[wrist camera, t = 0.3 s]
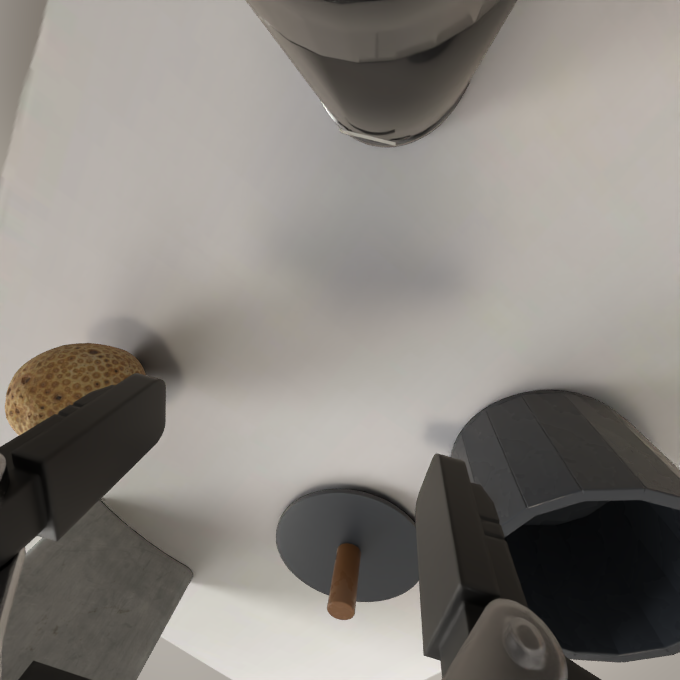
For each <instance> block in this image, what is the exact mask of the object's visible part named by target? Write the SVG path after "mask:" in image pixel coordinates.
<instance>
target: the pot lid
mask: <svg viewBox="0 0 680 680" xmlns="http://www.w3.org/2000/svg"><path fill="white" fill-rule="evenodd" d="M276 543H277V547H278V551H279V553H280V556H281V558H282V560H283V561H284V563H285V564H286V566H287V567H288V568H289V569H290V571H291V572H292V573H293V574H294V575H295V576H296V577H298V578H299V579H300V580H301V581H302V582H304V583H305V584H307V585H308V586H310V587H312V588H314V589H315V590H317V591H319V592H322V593H324V594H326V595H329V599H328V605H327V610H328V612H329V614H330V615H331V616H333V617H334V618H337V619H340V620H348V619H351V618H352V617H353V616H354V614H355V606H356V601H357V602H374V601H382V600H387V599H390V598H394V597H396V596H399V595H401V594H403V593H405V592H406V591H408V590H410V589H411V588H412V587H413V586H414V585H415V584H416V583H417V582H418V581H419V570H418V554H417V537H416V524H415V523H414V522H413V520H412V519H411V518H410V517H409V516H408V515H407V514H406V513H405V512H403V511H402V510H401V509H399V508H398V507H397V506H395V505H393V504H392V503H390V502H388V501H386V500H384V499H382V498H380V497H377V496H375V495H372V494H369V493H365V492H361V491H356V490H348V489H329V490H322V491H317V492H314V493H311V494H308V495H305V496H303V497H301V498H299V499H298V500H296V501H295V502H293V503H292V504H291V505H290V506H289V507H288V508H287V509H286V510H285V512H284V513H283V514H282V516H281V519H280V521H279V523H278V527H277V531H276Z"/></svg>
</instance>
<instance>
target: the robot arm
mask: <svg viewBox="0 0 680 680" xmlns="http://www.w3.org/2000/svg"><path fill="white" fill-rule="evenodd" d="M246 2H247V3H248V4H249V6H250V7H251V8H252V10H253V11H254V12H255V14H256V15H257V16H258V18H259V19H260V20H261V22H262V23H263V24H264V26H265V27H266V28H267V30H268V31H269V32H270V34H271V35H272V36H273V38H274V39H275V40H276V42H277V43H278V44H279V46H280V47H281V48H282V50H283V51H284V52H285V54H286V55H287V56H288V58H289V59H290V60H291V62H292V63H293V64H294V66H295V67H296V68H297V70H298V71H299V72H300V74H301V75H302V76H303V78H304V79H305V80H306V82H307V83H308V84H309V86H310V87H311V88H312V90H313V91H314V92H315V93H316V95H317V96H318V97H319V99H320V100H321V102H322V104H323V106H324V108H325V109H326V111H327V112H328V114H329V115H330V116H331V118H332V119H333V120H334V121H335V123H336V124H337V125H338V126H339V127H340V128H341V129H342V130H341V129H339V130H340V131H341V133H344V134H348V135H350V136H351V137H353V138H354V139H356V140H358V141H360V142H363V143H365V144H368V145H372V146H378V147H396V146H402V145H405V144H409V143H412V142H414V141H417V140H419V139H421V138H422V137H424V136H426V135H427V134H429V133H430V132H432V131H433V130H434V129H436V128H437V127H438V126H439V125H440V124H441V123H442V122H443V121H444V120H445V119H446V118H447V117H448V116H449V115H450V114H451V112H452V111H453V110H454V108H455V107H456V106H457V104H458V102H459V101H460V99H461V98H462V96H463V94H464V93H465V91H466V89H467V87H468V85H469V82H470V80H471V78H472V76H473V75H474V73H475V71H476V70H477V68H478V66H479V64H480V63H481V61H482V59H483V58H484V56H485V54H486V53H487V51H488V49H489V47H490V46H491V44H492V42H493V41H494V39H495V37H496V36H497V34H498V32H499V30H500V29H501V27H502V25H503V24H504V22H505V20H506V19H507V17H508V15H509V13H510V12H511V10H512V8H513V7H514V5H515V3H516V2H517V0H246ZM165 409H166V385H165V382H164V381H163V380H162V379H158V378H154V377H150V376H147V375H143V374H139V373H135V374H132V375H131V376H129V377H127V378H126V379H124V380H123V381H121V382H120V383H118V384H117V385H110V386H107V387H104V388H101V389H98V390H95V391H92V392H90V393H88V394H87V395H85V396H83V397H82V398H80V399H78V400H77V401H75V402H73V405H69V406H67V407H65V408H64V409H62V410H60V411H59V412H58V414H54V415H52V416H51V417H49V418H47V419H46V420H44V421H42V422H41V423H39V424H37V425H36V426H34V427H32V428H31V429H29V430H28V431H26V432H24V433H23V434H21V435H19V436H18V437H16V438H14V439H13V440H11V441H9V442H8V443H6V444H5V445H3V446H1V447H0V680H1V671H2V664H1V657H2V647H3V641H4V637H5V633H6V629H7V625H8V621H9V618H10V614H11V610H12V606H13V602H14V598H15V594H16V590H17V587H18V583H19V579H20V575H21V571H22V567H23V563H24V560H25V555H26V550H25V546H26V545H27V544H28V543H29V542H30V541H31V540H33V539H34V538H35V537H36V536H40V537H43V538H46V539H50V540H53V541H56V542H57V541H58V540H59V539H60V538H61V537H63V536H64V535H65V534H66V533H67V532H68V531H69V530H70V529H71V528H72V527H73V526H74V525H75V524H76V523H77V522H78V521H79V520H80V519H81V518H82V517H83V516H84V515H85V514H86V513H87V512H88V511H89V510H90V509H91V508H92V507H93V506H94V505H95V504H96V503H97V502H98V501H99V500H100V499H101V498H102V497H103V496H104V495H105V494H106V493H107V492H108V491H109V490H110V489H111V488H112V487H113V486H114V485H115V484H116V483H117V482H118V481H119V480H120V479H121V478H122V477H123V476H124V475H125V474H126V473H127V472H128V471H129V470H130V469H131V468H132V467H133V466H134V465H135V464H136V463H137V462H138V461H139V460H140V459H141V458H142V457H143V456H144V455H145V454H146V453H147V452H148V451H149V450H150V449H151V448H152V447H153V446H154V445H155V444H156V443H157V442H158V441H159V439H160V437H161V436H162V433H163V431H164V428H165ZM415 521H416V537H417V554H418V570H419V586H420V602H421V619H422V635H423V651H424V656H427V657H431V658H434V659H437V660H440V661H441V670H442V680H601V679H599V678H598V677H596V676H595V675H593V674H591V673H590V672H588V671H587V670H585V669H583V668H582V667H580V666H579V665H577V664H576V663H574V662H573V661H571V660H570V659H568V658H567V657H566V656H565V655H564V653H563V651H562V649H561V647H560V645H559V643H558V641H557V639H556V638H555V636H554V634H553V633H552V632H551V630H550V629H549V628H548V627H547V625H546V624H545V623H544V622H543V621H542V620H541V619H540V618H539V617H538V616H537V615H536V614H535V613H533V612H532V611H531V610H530V609H529V608H528V605H527V603H526V600H525V597H524V593H523V590H522V587H521V584H520V581H519V578H518V575H517V572H516V569H515V566H514V563H513V560H512V557H511V554H510V551H509V548H508V545H507V542H506V541H505V540H504V538H505V536H504V533H503V530H502V527H501V525H500V524H499V522H500V520H499V517H498V514H497V511H496V508H495V505H494V502H493V501H492V500H491V498H490V497H489V496H488V494H487V493H486V491H485V490H484V489H483V487H482V486H481V485H479V484H475V483H471V482H470V478H469V475H468V471H467V467H466V464H465V462H464V461H463V460H460V459H456V458H452V457H448V456H445V455H441V454H435V455H434V457H433V459H432V461H431V464H430V466H429V469H428V471H427V474H426V476H425V479H424V481H423V484H422V487H421V489H420V492H419V495H418V498H417V503H416V511H415ZM18 680H91V679H88V678H85V677H82V676H79V675H76V674H73V673H70V672H67V671H64V670H61V669H58V668H55V667H52V666H49V665H46V664H43V663H40V662H36V661H33V662H32V663H31V664H30V665H29V667H28V668H27V669H26V670H25V672H24V673H23V674H22V675H21V677H20V678H19V679H18Z"/></svg>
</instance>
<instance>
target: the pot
mask: <svg viewBox="0 0 680 680" xmlns="http://www.w3.org/2000/svg"><path fill="white" fill-rule="evenodd" d="M451 457H452V458H456V459H460V460H463V461H464V462H465V464H466V467H467V471H468V475H469V478H470V482H471V483H475V484H479V485H481V486H482V487H483V489H484V490H485V491H486V493H487V494H488V496H489V497H490V498H491V500H492V501H493V502H494V505H495V508H496V511H497V514H498V517H499V520H500V522H499V524H500V525H501V527H502V530H503V533H504V536H505V538H504V540H505V541H506V542H507V545H508V548H509V551H510V554H511V557H512V560H513V563H514V566H515V569H516V572H517V575H518V578H519V581H520V584H521V587H522V590H523V593H524V597H525V600H526V603H527V605H528V608H529V609H530V610H531V611H532V612H533V613H535V614H536V615H537V616H538V617H539V618H540V619H541V620H542V621H543V622H544V623H545V624H546V625H547V627H548V628H549V629H550V630H551V632H552V633H553V634H554V636H555V638H556V639H557V641H558V643H559V645H560V647H561V649H562V651H563V653H564V655H565V656H566V657H567V658H568V659H576V660H591V661H607V662H629V661H635V660H641V659H649V658H655V657H662V656H669V655H671V654H672V655H674V654H676V653H678V652H680V470H679V469H678V468H677V467H676V466H675V465H674V464H673V463H672V462H671V461H670V460H669V459H668V458H667V457H666V456H664V455H663V454H662V453H661V452H660V451H659V450H658V449H657V448H656V447H655V446H654V445H653V444H652V443H651V442H650V441H649V440H648V439H647V438H645V437H644V436H643V435H642V434H641V433H640V432H639V431H638V430H637V429H636V428H635V427H634V426H633V425H632V424H631V423H630V422H629V421H627V420H626V419H624V418H623V417H622V416H620V415H619V414H618V413H617V412H615V411H614V410H613V409H612V408H610V407H609V406H607V405H606V404H604V403H603V402H600V401H598V400H596V399H594V398H591V397H588V396H585V395H582V394H579V393H574V392H568V391H558V390H539V391H532V392H525V393H521V394H517V395H513V396H510V397H508V398H505V399H502V400H500V401H498V402H496V403H494V404H492V405H490V406H488V407H487V408H485V409H484V410H482V411H480V412H479V413H478V414H477V415H476V416H474V417H473V418H472V419H471V420H470V421H469V422H468V423H467V424H466V425H465V427H464V428H463V429H462V431H461V432H460V434H459V435H458V437H457V439H456V441H455V443H454V446H453V449H452V454H451Z"/></svg>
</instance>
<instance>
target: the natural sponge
mask: <svg viewBox="0 0 680 680" xmlns="http://www.w3.org/2000/svg"><path fill="white" fill-rule="evenodd" d="M135 373H139V374H143V375H146V374H145V371H144V369H143V367H142V365H141V364H140V362H139V361H138V360H137V359H136V358H135V357H134V356H133V355H132V354H130V353H129V352H127V351H125V350H122V349H119V348H115V347H111V346H107V345H101V344H91V343H82V344H81V343H79V344H70V345H63V346H60V347H57V348H54V349H51V350H48V351H46V352H44V353H42V354H40V355H38V356H36V357H34V358H33V359H31V360H29V361H28V362H27V363H25V364H24V365H23V366H22V367H21V368H20V369H19V370H18V371H17V372H16V373H15V375H14V377H13V379H12V380H11V382H10V384H9V387H8V390H7V394H6V403H5V412H6V418H7V420H8V422H9V424H10V426H11V427H12V428H13V430H14V431H15V432H16V433H17V434H18V435H21V434H23V433H24V432H26V431H28V430H29V429H31V428H32V427H34V426H36V425H37V424H39V423H41V422H42V421H44V420H46V419H47V418H49V417H51V416H52V415H54V414H58V412H59V411H60V410H62V409H64V408H65V407H67V406H69V405H73V402H75V401H77V400H78V399H80V398H82V397H83V396H85V395H87V394H88V393H90V392H92V391H95V390H98V389H101V388H104V387H107V386H110V385H117V384H118V383H120V382H121V381H123V380H124V379H126V378H127V377H129V376H131V375H132V374H135Z"/></svg>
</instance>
